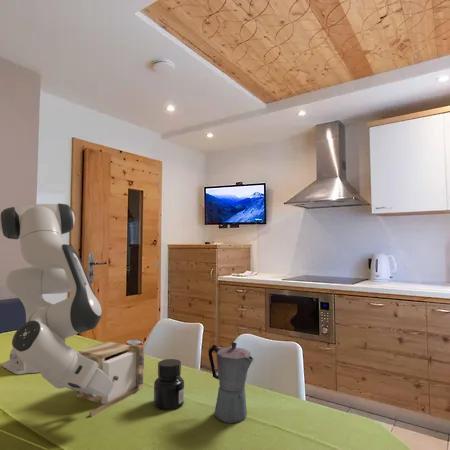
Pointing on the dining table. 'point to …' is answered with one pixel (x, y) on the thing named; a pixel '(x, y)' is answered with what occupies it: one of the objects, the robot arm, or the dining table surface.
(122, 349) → the cabinet
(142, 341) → the soda can
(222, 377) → the moka pot
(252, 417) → the dining table surface
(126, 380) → the door
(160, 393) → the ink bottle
